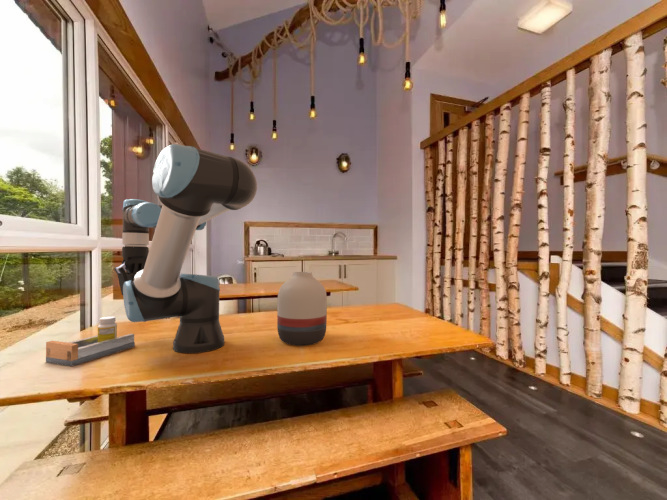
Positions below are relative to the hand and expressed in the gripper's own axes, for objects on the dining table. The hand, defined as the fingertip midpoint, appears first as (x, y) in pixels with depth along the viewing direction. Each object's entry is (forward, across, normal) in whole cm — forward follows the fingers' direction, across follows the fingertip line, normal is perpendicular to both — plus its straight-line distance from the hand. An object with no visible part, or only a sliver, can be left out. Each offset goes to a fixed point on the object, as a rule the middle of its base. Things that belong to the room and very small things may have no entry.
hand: (134, 315), depth 102 cm
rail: (+9, +13, 0) cm, 16 cm away
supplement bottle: (+7, +9, 0) cm, 12 cm away
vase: (+8, -19, +53) cm, 57 cm away
